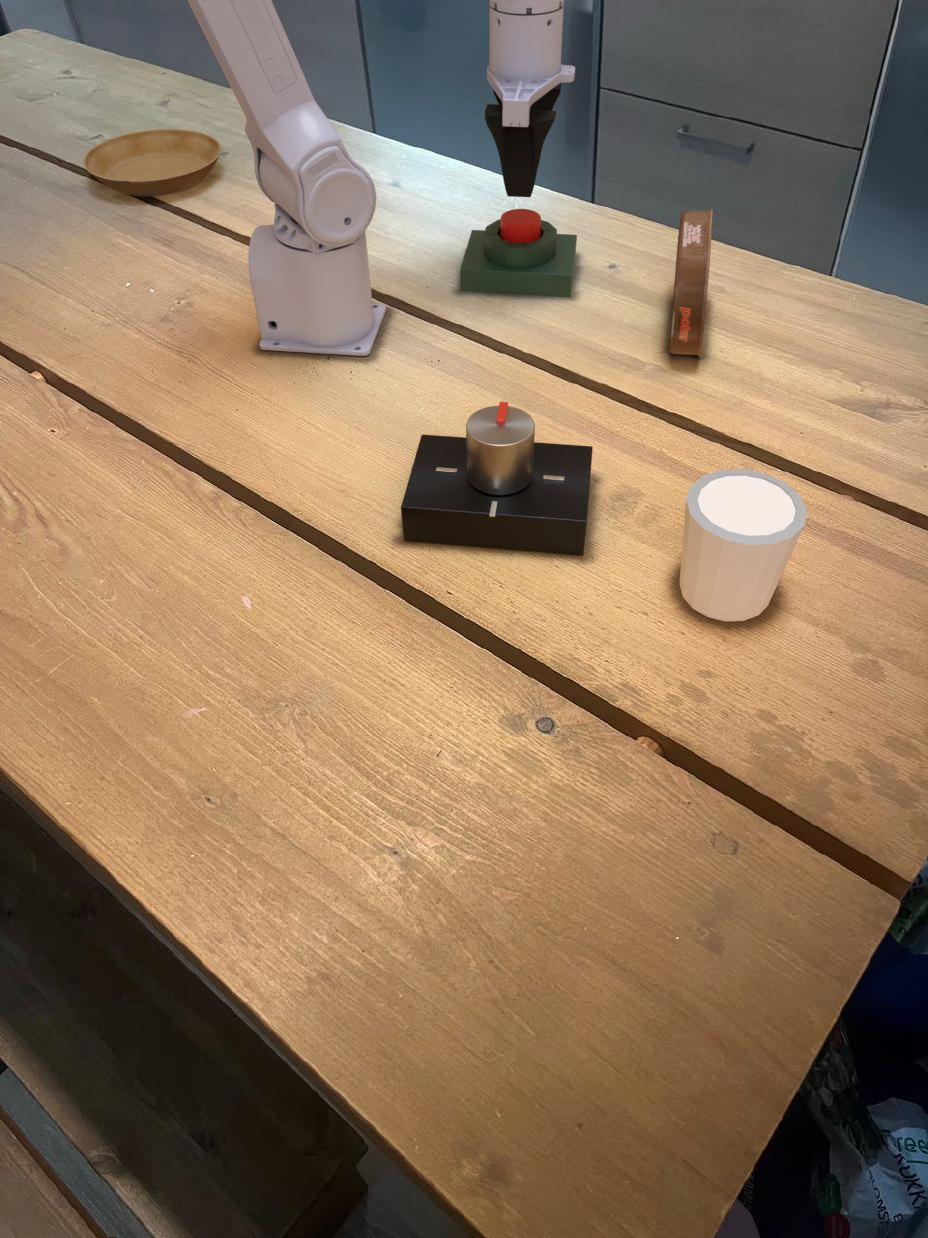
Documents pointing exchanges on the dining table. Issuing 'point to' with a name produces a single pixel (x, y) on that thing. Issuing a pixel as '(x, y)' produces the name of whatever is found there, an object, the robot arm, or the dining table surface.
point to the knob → (500, 449)
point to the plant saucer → (153, 161)
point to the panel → (498, 501)
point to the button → (520, 226)
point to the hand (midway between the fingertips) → (521, 184)
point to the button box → (519, 263)
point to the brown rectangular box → (691, 282)
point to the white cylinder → (737, 541)
